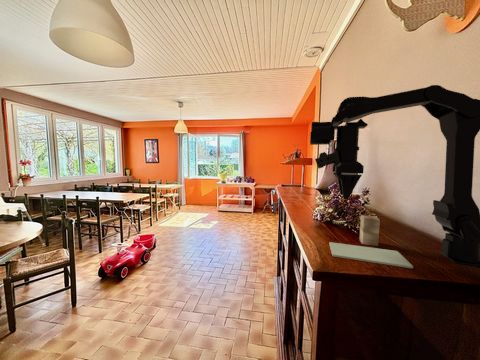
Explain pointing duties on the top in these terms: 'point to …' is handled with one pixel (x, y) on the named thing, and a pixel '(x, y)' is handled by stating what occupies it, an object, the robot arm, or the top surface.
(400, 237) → the top surface
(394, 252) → the sage mat
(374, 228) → the maple block
